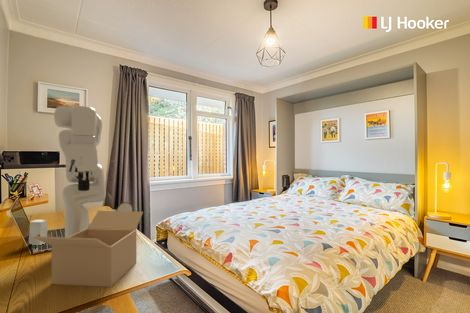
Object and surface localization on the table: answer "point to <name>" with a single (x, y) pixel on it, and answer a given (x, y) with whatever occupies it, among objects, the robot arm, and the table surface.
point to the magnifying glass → (125, 207)
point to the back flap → (116, 220)
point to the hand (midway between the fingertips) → (83, 190)
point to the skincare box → (37, 231)
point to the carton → (95, 258)
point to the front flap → (72, 241)
